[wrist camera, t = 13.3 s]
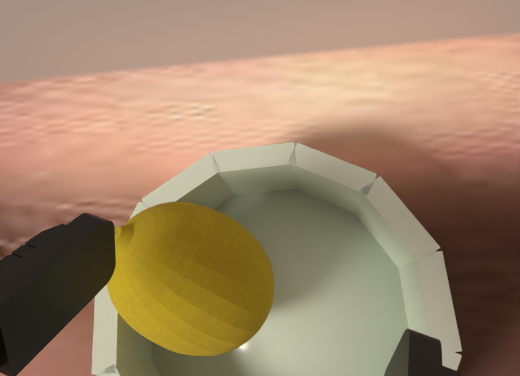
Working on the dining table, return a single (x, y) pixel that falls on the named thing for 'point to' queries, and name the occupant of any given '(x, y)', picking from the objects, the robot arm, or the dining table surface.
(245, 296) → the lemon
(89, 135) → the dining table surface
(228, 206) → the bowl
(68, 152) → the dining table surface
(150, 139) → the dining table surface
